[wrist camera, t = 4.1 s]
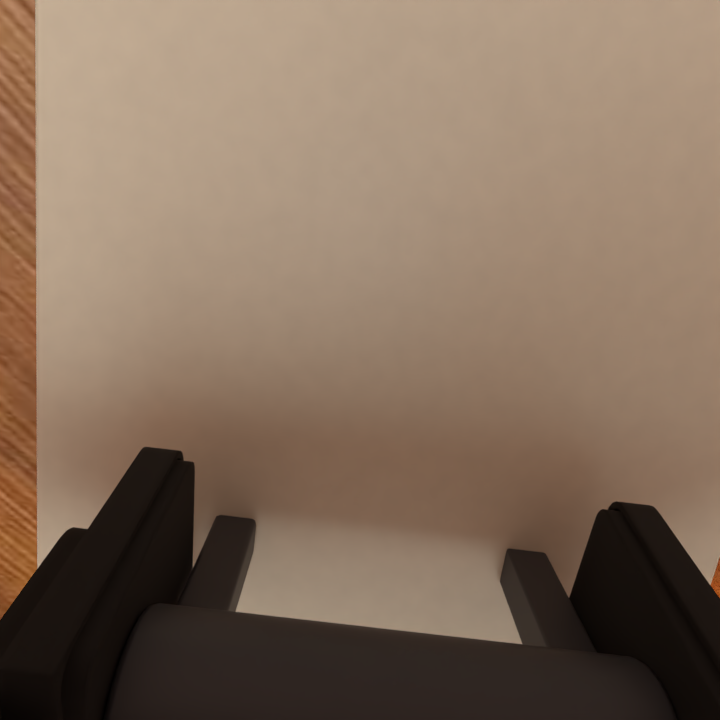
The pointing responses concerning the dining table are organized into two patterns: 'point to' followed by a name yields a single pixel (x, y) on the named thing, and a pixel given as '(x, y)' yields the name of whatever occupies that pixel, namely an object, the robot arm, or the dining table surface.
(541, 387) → the lid
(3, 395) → the dining table surface
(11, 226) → the dining table surface
